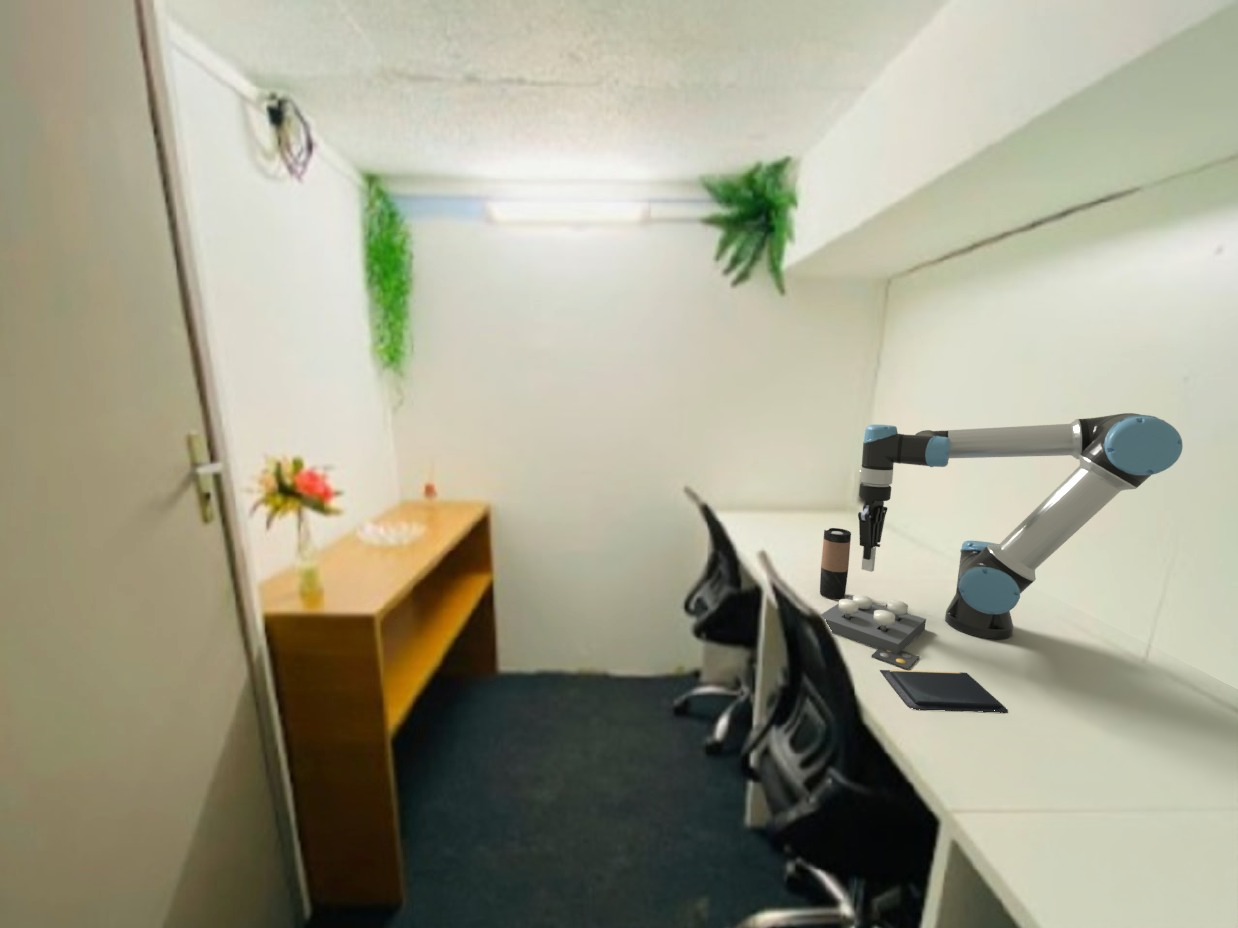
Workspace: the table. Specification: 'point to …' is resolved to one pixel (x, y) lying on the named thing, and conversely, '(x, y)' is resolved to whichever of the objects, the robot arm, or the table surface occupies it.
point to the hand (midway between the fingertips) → (867, 569)
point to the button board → (875, 628)
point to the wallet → (941, 691)
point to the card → (896, 658)
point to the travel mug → (835, 563)
